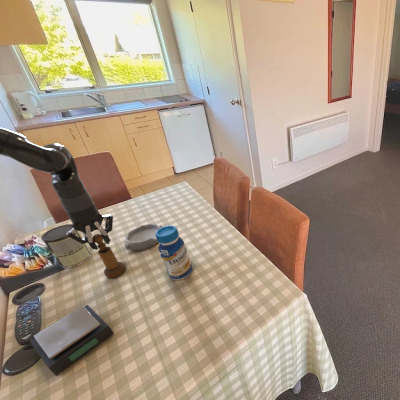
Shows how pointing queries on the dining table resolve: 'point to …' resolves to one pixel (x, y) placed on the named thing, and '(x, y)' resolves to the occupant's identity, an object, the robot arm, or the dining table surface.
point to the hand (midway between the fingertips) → (101, 245)
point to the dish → (142, 237)
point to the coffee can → (66, 247)
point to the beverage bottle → (174, 253)
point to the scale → (75, 346)
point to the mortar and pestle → (108, 259)
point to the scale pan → (66, 331)
